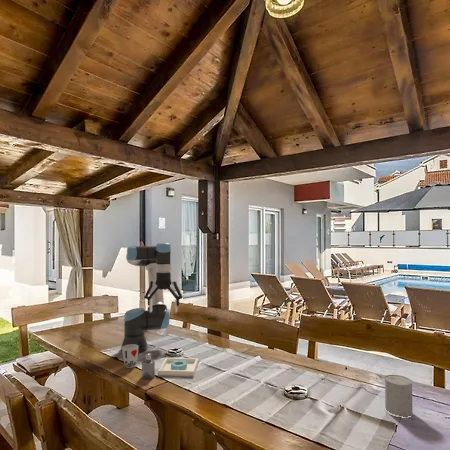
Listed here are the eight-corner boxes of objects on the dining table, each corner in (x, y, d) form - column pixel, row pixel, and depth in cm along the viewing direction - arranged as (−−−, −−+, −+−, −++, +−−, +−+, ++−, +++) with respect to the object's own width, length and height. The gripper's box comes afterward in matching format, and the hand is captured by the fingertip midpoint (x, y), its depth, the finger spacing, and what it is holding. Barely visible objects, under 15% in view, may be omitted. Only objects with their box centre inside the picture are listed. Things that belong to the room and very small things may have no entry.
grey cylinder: (404, 405, 140) (403, 374, 141) (418, 418, 131) (417, 384, 131) (380, 406, 140) (380, 374, 140) (392, 418, 130) (392, 385, 131)
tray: (165, 362, 187) (165, 357, 188) (198, 363, 187) (198, 358, 187) (157, 376, 170) (157, 370, 170) (193, 376, 169) (193, 371, 169)
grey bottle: (143, 374, 172) (143, 351, 172) (156, 374, 172) (156, 351, 172) (140, 379, 166) (140, 355, 166) (152, 379, 166) (152, 356, 166)
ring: (189, 368, 178) (189, 363, 178) (177, 372, 173) (177, 367, 173) (179, 363, 185) (179, 358, 185) (166, 367, 180) (166, 362, 180)
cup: (122, 369, 178) (122, 350, 178) (122, 364, 186) (122, 345, 186) (138, 368, 180) (138, 348, 180) (138, 362, 188) (138, 343, 188)
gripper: (138, 272, 186) (138, 313, 185) (185, 272, 184) (185, 313, 184) (142, 271, 193) (142, 310, 193) (187, 271, 192) (187, 310, 191)
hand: (163, 311), depth 188 cm, fingers open, 13 cm apart
